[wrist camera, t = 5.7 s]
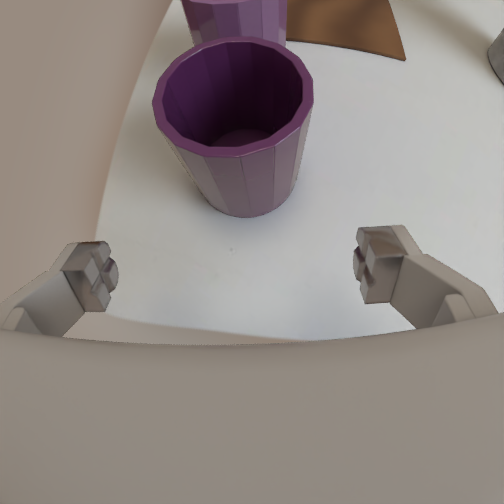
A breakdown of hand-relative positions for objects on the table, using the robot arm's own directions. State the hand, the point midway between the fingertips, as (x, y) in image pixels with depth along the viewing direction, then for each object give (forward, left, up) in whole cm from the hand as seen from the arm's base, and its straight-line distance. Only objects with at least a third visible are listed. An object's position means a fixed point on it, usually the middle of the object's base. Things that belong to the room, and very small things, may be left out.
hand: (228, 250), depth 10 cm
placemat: (-19, +25, -12) cm, 33 cm away
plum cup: (-6, +5, -12) cm, 14 cm away
